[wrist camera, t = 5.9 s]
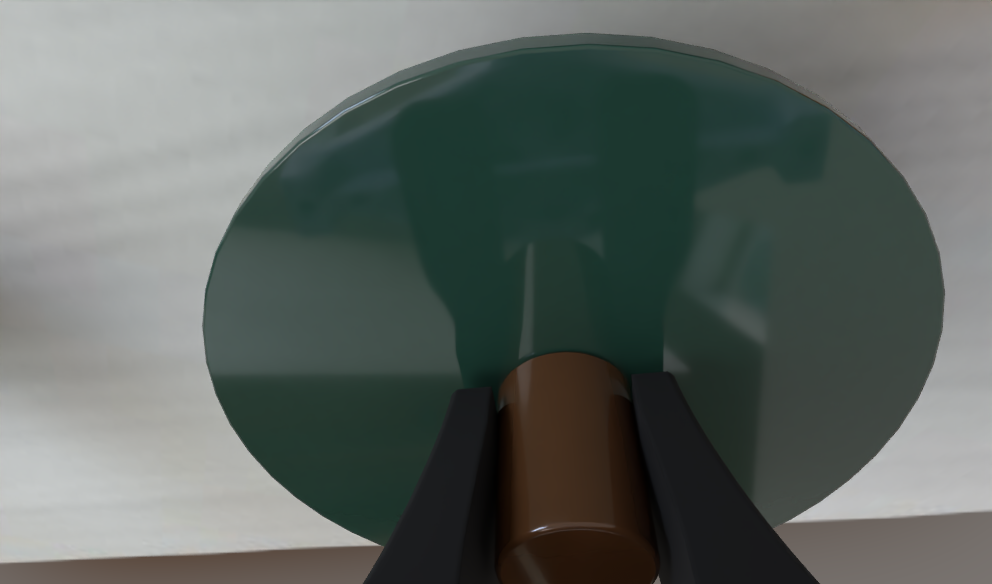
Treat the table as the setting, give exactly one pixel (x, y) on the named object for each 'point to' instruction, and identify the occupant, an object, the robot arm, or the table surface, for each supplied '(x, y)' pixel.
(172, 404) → the table surface
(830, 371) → the lid
